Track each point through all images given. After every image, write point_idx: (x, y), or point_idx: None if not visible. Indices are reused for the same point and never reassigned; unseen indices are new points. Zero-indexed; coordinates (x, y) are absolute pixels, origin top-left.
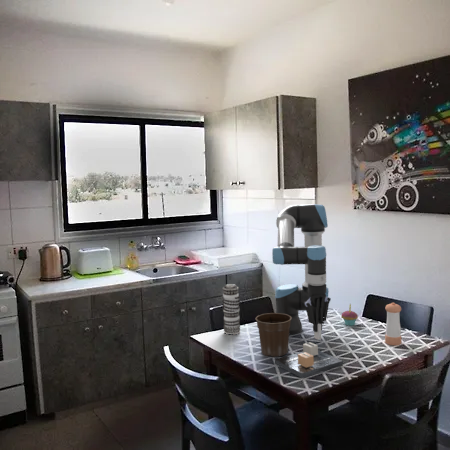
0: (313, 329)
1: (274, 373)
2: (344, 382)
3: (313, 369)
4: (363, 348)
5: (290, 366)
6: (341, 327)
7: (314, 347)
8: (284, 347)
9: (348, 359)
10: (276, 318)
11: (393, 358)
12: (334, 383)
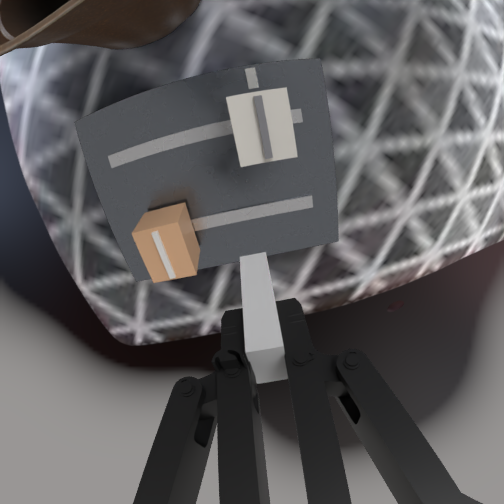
0: (222, 328)
1: (65, 206)
2: None
3: None
4: (472, 144)
5: (112, 215)
6: None
7: (270, 159)
8: (146, 35)
9: (384, 194)
10: None
11: (463, 246)
12: None
